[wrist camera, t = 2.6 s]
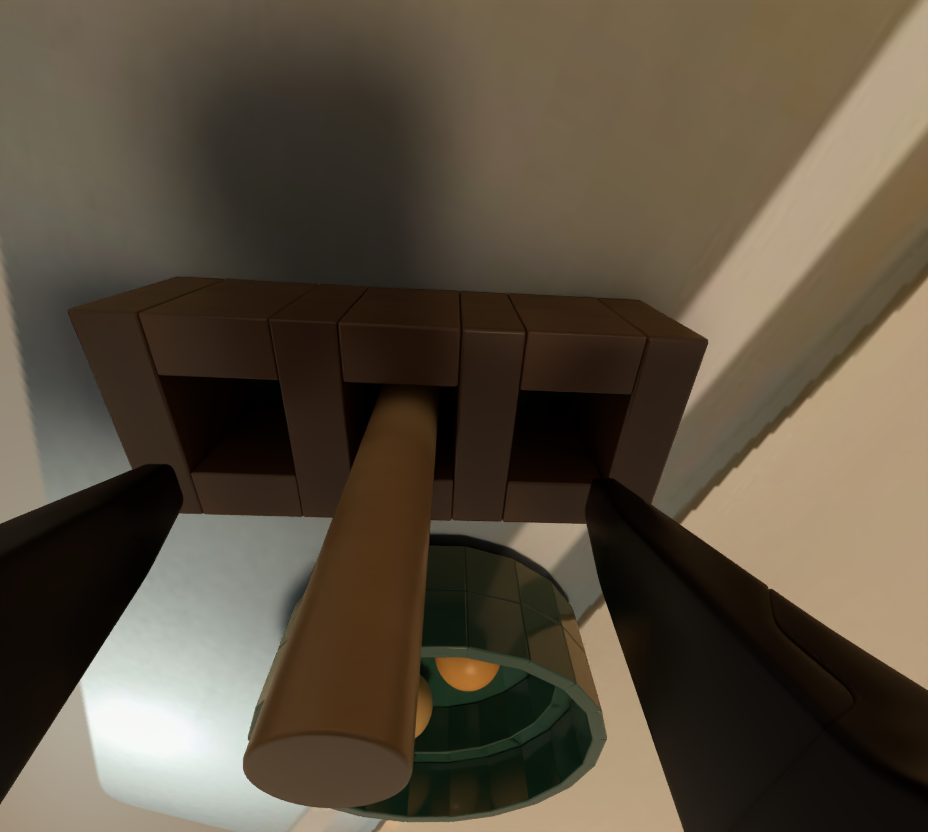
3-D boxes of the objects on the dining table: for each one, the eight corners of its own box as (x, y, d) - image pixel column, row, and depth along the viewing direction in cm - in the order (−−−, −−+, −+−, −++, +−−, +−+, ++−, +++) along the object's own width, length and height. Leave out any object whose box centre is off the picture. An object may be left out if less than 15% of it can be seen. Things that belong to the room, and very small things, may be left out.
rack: (220, 439, 15) (148, 513, 12) (175, 276, 12) (64, 309, 9) (602, 452, 16) (644, 526, 12) (641, 300, 13) (711, 339, 9)
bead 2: (435, 638, 20) (432, 705, 18) (436, 598, 19) (433, 664, 16) (495, 639, 20) (501, 706, 18) (501, 599, 19) (509, 665, 16)
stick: (389, 397, 14) (258, 810, 5) (387, 348, 14) (223, 731, 4) (440, 399, 14) (412, 809, 5) (441, 351, 14) (411, 734, 4)
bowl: (312, 708, 24) (281, 823, 20) (271, 530, 17) (209, 644, 13) (550, 709, 25) (571, 821, 20) (600, 538, 18) (647, 649, 14)
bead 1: (378, 688, 22) (368, 755, 20) (375, 656, 21) (364, 723, 18) (433, 689, 22) (430, 755, 20) (434, 656, 21) (432, 723, 18)
